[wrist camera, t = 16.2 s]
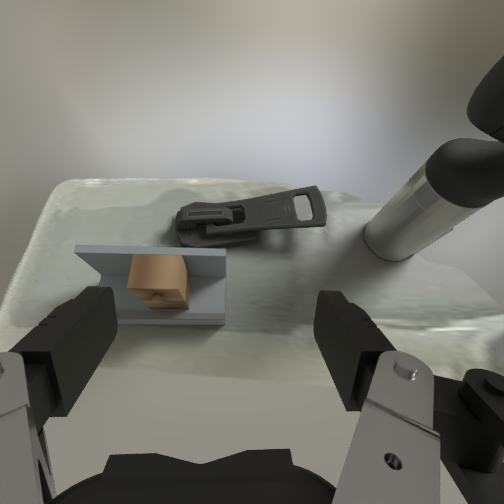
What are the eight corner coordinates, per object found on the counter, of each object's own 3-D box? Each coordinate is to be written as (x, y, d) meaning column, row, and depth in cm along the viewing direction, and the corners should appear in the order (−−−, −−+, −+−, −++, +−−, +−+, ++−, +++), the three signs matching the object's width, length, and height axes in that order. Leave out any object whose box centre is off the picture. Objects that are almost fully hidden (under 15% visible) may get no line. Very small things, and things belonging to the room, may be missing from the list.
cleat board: (225, 279, 45) (226, 248, 35) (224, 324, 42) (224, 307, 32) (113, 277, 44) (75, 244, 33) (103, 324, 41) (58, 305, 30)
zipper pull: (331, 226, 44) (171, 236, 41) (318, 244, 50) (178, 254, 47) (319, 181, 47) (171, 187, 44) (309, 203, 53) (177, 209, 50)
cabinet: (191, 282, 41) (181, 255, 32) (188, 314, 39) (177, 296, 30) (154, 281, 40) (133, 254, 31) (149, 314, 38) (125, 295, 29)
